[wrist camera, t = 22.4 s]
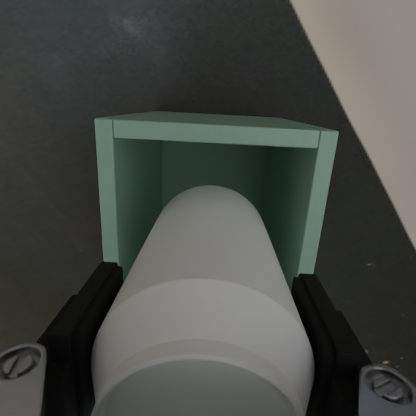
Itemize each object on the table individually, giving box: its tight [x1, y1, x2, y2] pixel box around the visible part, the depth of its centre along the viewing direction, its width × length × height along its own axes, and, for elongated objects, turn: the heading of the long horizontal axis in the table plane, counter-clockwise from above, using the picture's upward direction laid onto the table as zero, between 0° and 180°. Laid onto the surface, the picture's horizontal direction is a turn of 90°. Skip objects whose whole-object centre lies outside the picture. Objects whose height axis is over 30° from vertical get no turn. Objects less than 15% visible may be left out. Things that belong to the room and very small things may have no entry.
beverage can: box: [91, 185, 315, 416], centre depth 13 cm, size 6×6×12 cm
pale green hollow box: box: [95, 111, 339, 293], centre depth 22 cm, size 13×11×14 cm
